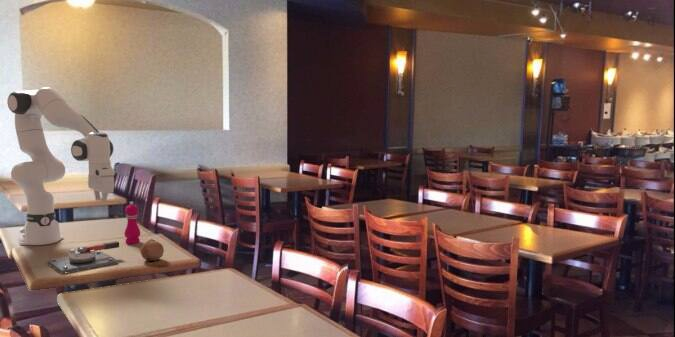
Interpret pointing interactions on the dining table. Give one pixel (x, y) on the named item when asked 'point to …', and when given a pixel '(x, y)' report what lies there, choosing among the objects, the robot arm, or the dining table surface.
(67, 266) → the flange plate
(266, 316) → the dining table surface
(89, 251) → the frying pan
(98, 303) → the dining table surface
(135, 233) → the pepper mill
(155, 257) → the onion
